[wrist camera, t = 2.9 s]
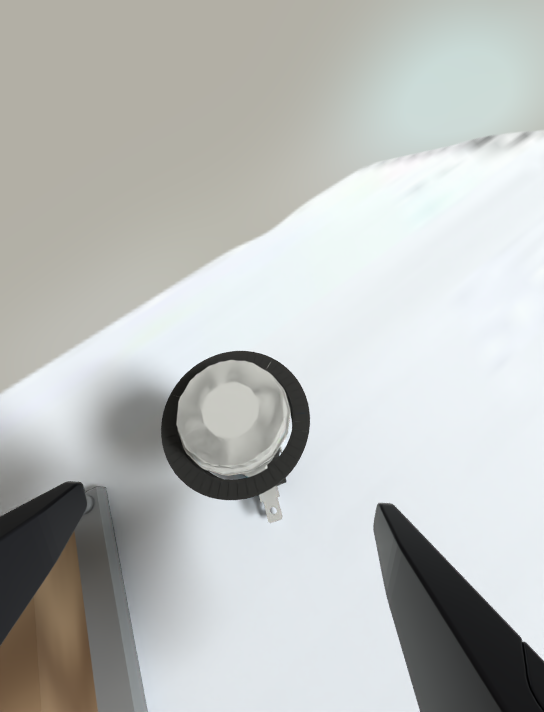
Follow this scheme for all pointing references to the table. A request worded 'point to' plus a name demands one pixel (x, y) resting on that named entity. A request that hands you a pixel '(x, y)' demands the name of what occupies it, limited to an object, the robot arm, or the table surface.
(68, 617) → the tan flat square block
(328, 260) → the table surface
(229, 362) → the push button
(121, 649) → the base plate
